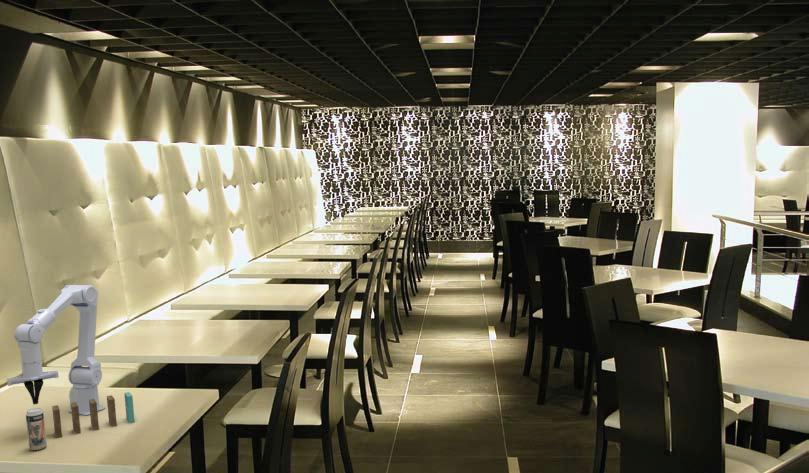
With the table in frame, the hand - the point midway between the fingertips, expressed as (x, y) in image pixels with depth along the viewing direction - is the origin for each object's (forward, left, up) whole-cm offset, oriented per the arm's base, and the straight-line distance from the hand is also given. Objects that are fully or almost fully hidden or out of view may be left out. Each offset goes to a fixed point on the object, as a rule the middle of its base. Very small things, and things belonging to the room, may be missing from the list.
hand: (35, 403), depth 248 cm
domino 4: (+14, +17, -10) cm, 24 cm away
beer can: (+10, -7, -11) cm, 16 cm away
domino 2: (+9, +7, -10) cm, 16 cm away
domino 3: (+12, +12, -10) cm, 20 cm away
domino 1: (+6, +3, -10) cm, 12 cm away
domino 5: (+17, +22, -10) cm, 30 cm away
